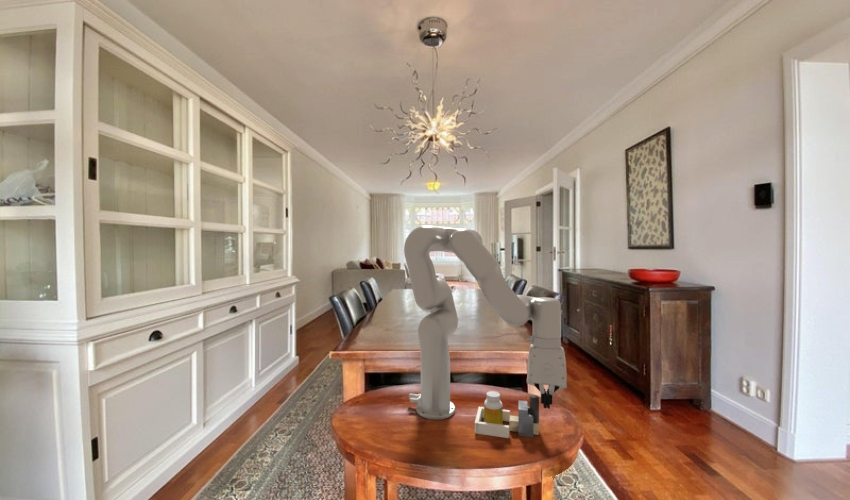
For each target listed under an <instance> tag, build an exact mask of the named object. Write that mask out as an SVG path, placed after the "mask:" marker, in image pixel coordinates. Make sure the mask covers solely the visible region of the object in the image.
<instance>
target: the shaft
mask: <svg viewBox="0 0 850 500" xmlns="http://www.w3.org/2000/svg"><path fill="white" fill-rule="evenodd" d="M528 400H529V401H528V402H529V403H528V404H529V406H528V407H529V415H533V435H535V436H536V435H537V436H539V435H540V423H539V422H540V397H539V396H538V395H537V394H530V395H529V398H528ZM509 432H515V433H516V432H517V433H518V415H512V414H510V422H509Z"/></svg>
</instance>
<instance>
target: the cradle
mask: <svg viewBox="0 0 850 500" xmlns="http://www.w3.org/2000/svg"><path fill="white" fill-rule="evenodd" d="M510 415H511V410H510V409H509V410H508V409H503V422H509V423H510ZM483 419H484V406H478V408H477V413H476V416H475V420H474V434H476V435H477V434H478V435H485V436H490V437H491V436H492V437H497V438H498V437H500V438H503V439H504V438H505V439H510V425H509V424H507V425H506V424H503V425H500V424H493V423H486V422H484V421H482V420H483Z"/></svg>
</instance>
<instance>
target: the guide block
mask: <svg viewBox="0 0 850 500" xmlns="http://www.w3.org/2000/svg"><path fill="white" fill-rule="evenodd" d="M517 413H518V415H517V416H518V432H517V433H518V436H519V437H520V436H521V437H527V438H534V434H533V415H529V406H528V400H520V399H519V400H518V411H517Z"/></svg>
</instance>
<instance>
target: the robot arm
mask: <svg viewBox="0 0 850 500" xmlns="http://www.w3.org/2000/svg"><path fill="white" fill-rule="evenodd" d="M403 252H404V253H403V254H404V259H405V263H406V266H407V270H408V274H409V275H408V276H409V279H410V283H411V288H412V293H413V296H414V300H415V303H416V306H417V307H419V308H420V309H421V310H426V311H427V310H428V311H429V312H430V313H429V314H427V315H425V316H424V317H423V318H422V319H421V320H420V322H419V324H418V328H417V335H418V341H419V350H420V351H419V352H420V393H418V394H416V393H412V392H410V393H408V400H409V402H410V403H412V404H416V406H415V411H416V413H417V414H418V416H420V417H422V418H425V419H427V420H436V421H437V420H445V419H448V418H450V417H452V416H453V415H454V414H455V411H456V405H455V404H454V403H453V402H452V401H451V352H450V346H449V341H448V340H449V337H450V336H451V335H453V334H454V333H455V332H456V331H457V329H458V326H459V317H458V312H457V310H456V309H457V307H456V305H455V301H454V296H453V292H452V289H451V287H450V285H449V284H448V282H447V281H445V280H444V279H442V278H438V277H437V275H436V274H437V273H436V270H435V265H434V263H433V261H432V259H431V257H430V253H432V252H445V253H453V254H454V255H455V256H456V257H457V258H458V260H459V261H460V262H461V263H462V265H463V266H464V267H465V268H466V269H467V271H468V272H469V274H471V276H472V277H473V278H474V280H476V282H477V284H478V287H479V288H480V290H481V291H482V293H483V295H484V298H485V299H486V301H487V302H488V303H489V304H490V306H491V307H492V308H493V309H494V311H495V312H496V313H497V315H498V316H499V317H500V318H501V319H502V321H504V323H506V324H507V325H510V326H512V327H520V326H524V325H525V324H526V323H527V322H528V321H529V320H531V321H532V335H531V336H526V337H527V338H526V341H527V342H529V343H531V344H529V345H530V346H529V350H528V356H527V377H526V384H527V385H529V386H532V387H535V388H536V389H537V390H538V392H539V393H540V404H543V409H547V410H549V409H551V405H553V395H554V393H556V391H558V390H559V389H560V390H562V389H566V388H568V385H567V382H568V381H567V361H566V354H565V348H564V347H563V346H562V342H561V341H562V340H561V339H562V333H561V332H562V331H561V330H562V323H561V322H562V306H561V305H562V304H561V301H560V300H559V299H557V298H553V297H546V296H545V297H536V296H529V295H525V294H516V292H515V291H514V290H513V289H512V288H511V287H510V285H509V284H508V282H507V281H506V278H505V277H504V275H503V272H502V268H501V266H500V263H499V261H498V260H497V259H496V258H495V257H494V255H492V254H491V252H490V250H489V249H488V248H486V246H485V245H484V244H483V237H482V235H481V234H480V233H479V232H478V231H477V230H475V229H471V228H454V227H445V226H436V225H430V224H429V225H428V224H425V225H419V226H417V227H415V228H414V229H413V230H412V231H410V233H409V234H408V235H407V237H406V240H405V241H404V247H403ZM544 385H545V386H547V387H548V388H545V386H544Z"/></svg>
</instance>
